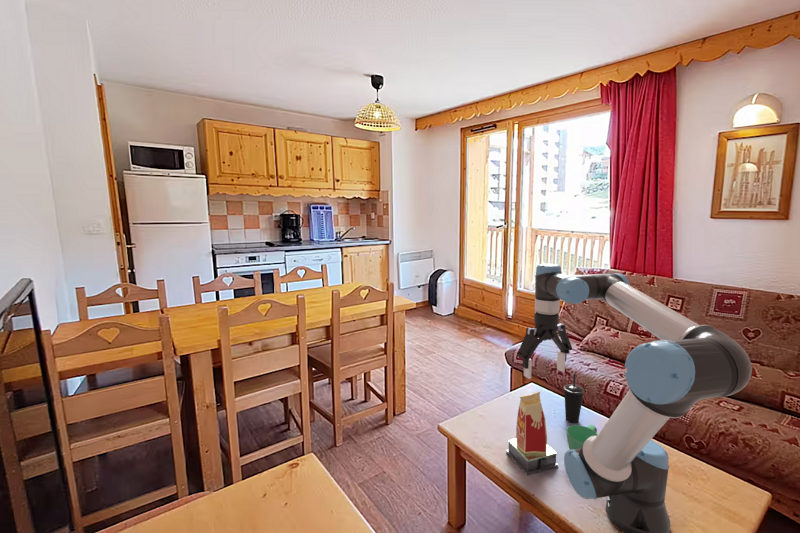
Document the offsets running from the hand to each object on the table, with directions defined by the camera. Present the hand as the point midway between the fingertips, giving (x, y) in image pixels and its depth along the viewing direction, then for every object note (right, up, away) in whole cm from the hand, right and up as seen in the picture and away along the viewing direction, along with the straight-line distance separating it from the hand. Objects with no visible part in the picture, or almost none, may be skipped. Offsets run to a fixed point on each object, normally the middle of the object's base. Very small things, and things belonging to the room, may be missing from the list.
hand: (544, 374), depth 126 cm
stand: (-3, -31, +5) cm, 32 cm away
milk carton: (-3, -26, +5) cm, 27 cm away
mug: (+16, -31, +6) cm, 35 cm away
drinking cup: (+22, -27, +29) cm, 46 cm away
